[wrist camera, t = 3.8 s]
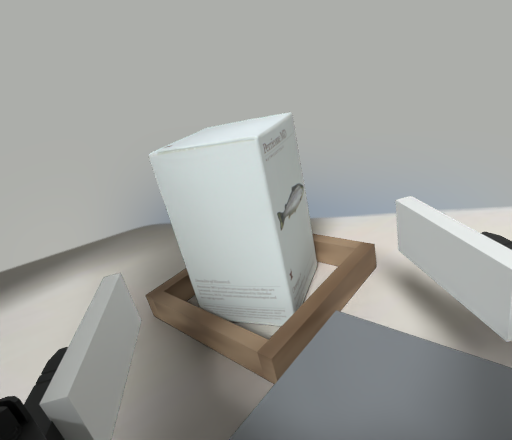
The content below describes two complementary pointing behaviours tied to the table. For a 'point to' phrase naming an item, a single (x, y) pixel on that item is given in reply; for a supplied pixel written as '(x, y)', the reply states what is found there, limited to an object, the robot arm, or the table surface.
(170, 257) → the table surface
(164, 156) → the supplement box
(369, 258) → the walnut holder
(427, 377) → the slate trivet
